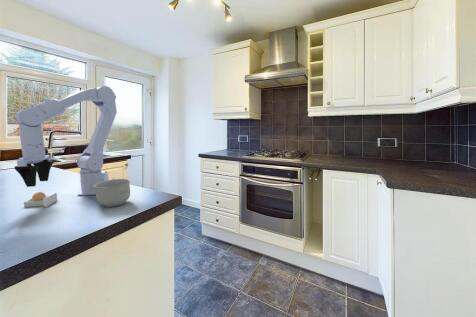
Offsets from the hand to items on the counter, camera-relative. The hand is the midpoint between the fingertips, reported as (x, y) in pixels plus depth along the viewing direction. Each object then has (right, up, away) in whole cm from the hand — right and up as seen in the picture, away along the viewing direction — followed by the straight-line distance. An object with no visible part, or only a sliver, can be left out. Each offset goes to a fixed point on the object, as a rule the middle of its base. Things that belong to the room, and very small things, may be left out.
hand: (37, 183), depth 76 cm
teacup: (+25, -7, +3) cm, 27 cm away
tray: (0, -7, +1) cm, 7 cm away
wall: (+4, -7, +1) cm, 8 cm away
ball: (0, -5, +1) cm, 5 cm away
